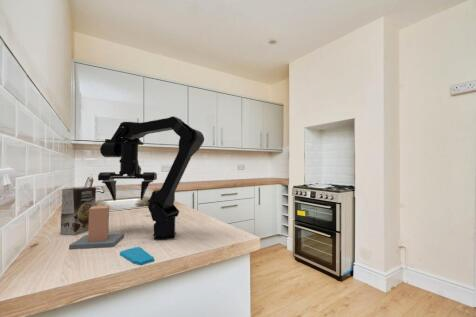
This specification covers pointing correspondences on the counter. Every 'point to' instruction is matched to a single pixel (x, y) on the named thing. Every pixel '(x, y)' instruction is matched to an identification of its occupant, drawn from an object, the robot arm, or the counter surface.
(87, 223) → the coffee box
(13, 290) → the counter surface
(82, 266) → the counter surface
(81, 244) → the slate board
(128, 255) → the sponge
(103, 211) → the terracotta block
